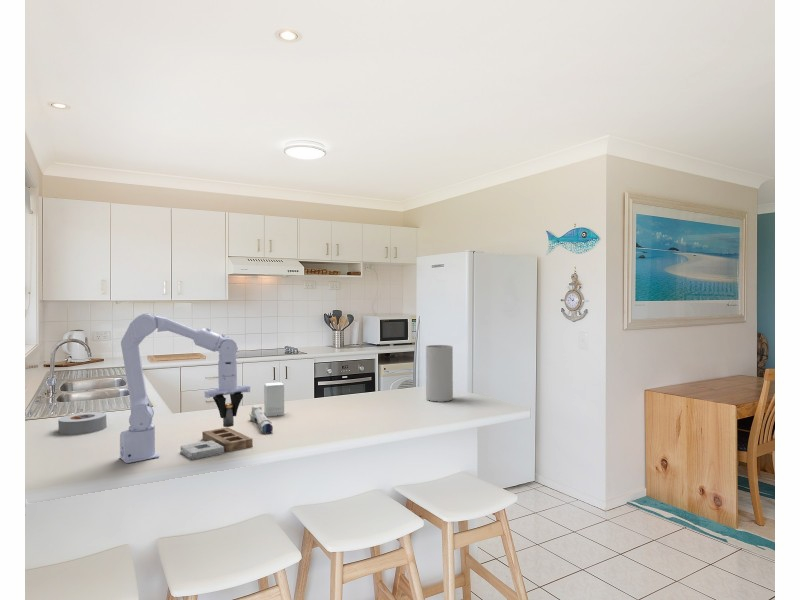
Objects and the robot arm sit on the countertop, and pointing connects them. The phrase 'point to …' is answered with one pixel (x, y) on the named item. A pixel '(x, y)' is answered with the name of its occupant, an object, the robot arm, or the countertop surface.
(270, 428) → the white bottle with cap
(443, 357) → the cylinder vase
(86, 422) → the tape roll
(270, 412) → the supplement box
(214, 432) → the rack
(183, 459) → the countertop surface
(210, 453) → the socket block
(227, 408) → the steel peg
